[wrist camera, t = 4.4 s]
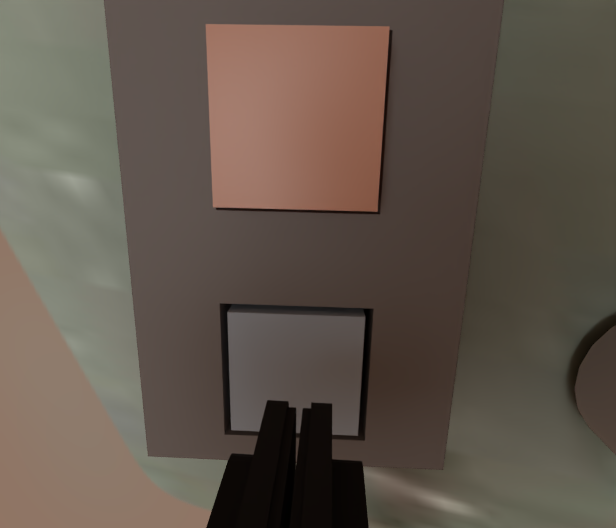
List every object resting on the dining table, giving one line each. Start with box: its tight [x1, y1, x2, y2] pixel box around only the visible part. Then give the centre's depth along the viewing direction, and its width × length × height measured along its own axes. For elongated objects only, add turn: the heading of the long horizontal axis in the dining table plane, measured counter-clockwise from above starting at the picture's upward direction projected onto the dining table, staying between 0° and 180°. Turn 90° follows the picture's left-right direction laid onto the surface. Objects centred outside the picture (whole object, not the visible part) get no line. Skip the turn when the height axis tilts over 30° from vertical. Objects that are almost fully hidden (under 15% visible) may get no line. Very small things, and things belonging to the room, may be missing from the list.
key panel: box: [104, 0, 504, 470], centre depth 16 cm, size 26×12×5 cm, turn 179°
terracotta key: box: [206, 24, 390, 212], centre depth 14 cm, size 5×5×4 cm
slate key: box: [227, 304, 365, 436], centre depth 17 cm, size 5×5×4 cm
